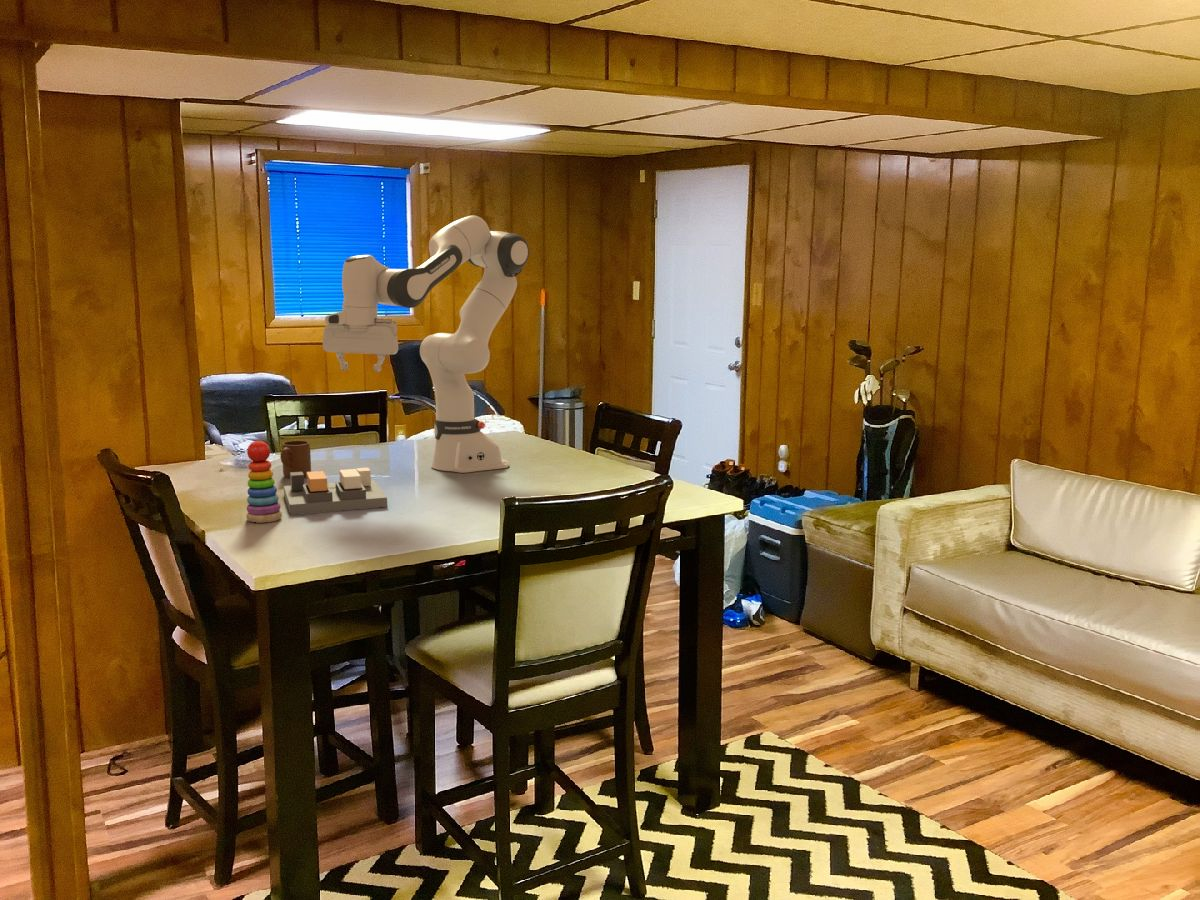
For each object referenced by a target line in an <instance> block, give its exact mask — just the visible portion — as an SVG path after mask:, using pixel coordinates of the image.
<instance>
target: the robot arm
mask: <svg viewBox="0 0 1200 900" xmlns="http://www.w3.org/2000/svg"><path fill="white" fill-rule="evenodd" d="M529 248H530V246H529V243H528V240H526V239H525V238H524V237H523V236H521V235H519V234H517V233H514V232H506V231H500V230H491V229H490V228H489V225H488V224H487V222H486V221H485V220H484V219H483V217H480V216H478V215H474V214H473V215H468V216H464V217H462V218H460V219H457V220H454V221H452V222H451V223H449V224H447V225H445V226H444V227H443V228H441V229H439V230H438V231H436V233H435V234H433V236H432V237H431V238H429V243H428V251H429V255H430V258H429V259H428V260H426V261H425V262H424V263H422V264H421V265H420V266H417V267H413V268H390V267H388V266H386V265H384V264H382V263H380V262H379V260H376V258H375V257H374V256H373V255H371V254H362V255H361V254H360V255H353V256H352V255H351V256H349V257H347V258H346V259H345V260H344V263H343V267H342V275H341V278H342V279H341V288H342V290H341V291H342V292H343V302H342V311H338V312H336V313H332V314H329V315H326V316H325V317H324V322H325V324H326V325H325V326H324V328H323V332H322V348H323V350H324V352H326V353H335V357H336V359H337V360H338V362H339V365H340V370H341V371H348V370H349V369H350V368H349V362H346V360H345V358H344V357H345V355H346V354H366V355H367V354H368V355H376V359H378V360H377V362H376V364H375V363H374V364H373V371H374V372H382V365H383V363H384V362H385V360H386V356H390V355H391V356H392V355H396V354H397V353H398V351H399V341H398V335H397V334H398V323H397V322H396V321H394V320H393V319H392V318H387V319H385V318H378V305H379V304H380V305H386V306H395V307H402V308H406V309H413V308H416V307H419V305H421V304H422V303H423V301H424V300H425V299H426V298H427V296H428V294H429V293H430V291H431V290H432V289H433V288H434V287H435V286H437V285H438V284H440V283H441V282H442V281H443V280H444V279H446V277H448V276H449V275H450V274H452V273H453V272H454V271H455V270H456V269H458V267H460V266H461V265H462V264H465V262H467V263H469V264H471V265H472V266H474V267H476V268H484V270H483V274H482V278H481V280H479V282H478V283H477V285H475V287H474V288H473V290H472V291H471V293H470V294H469V296H468V297H467V299H466V300H465V302H464V303H463V305H462V306H461V308H460V309H459V318H460V322H459V326H458V328H457V330H456V331H454V333H451V332H448V333H447V332H437V333H433V334H430V335H427V336H426V337H425V338H424V339H423V340H422V342H421V343H420V347H419V356H420V358H421V361H422V362H423V363H424V364H425V366H426V368H427V369H428V371H429V374H430V378H431V381H432V385H433V389H434V396H435V417H436V418H435V419H434V427H433V428H434V431H433V432H434V439H435V444H434V445H435V447H434V448H435V449H434V455H433V460H432V463H431V468H432V469H435V470H438V471H445V472H455V473H460V474H462V473H472V472H483V471H492V470H500V469H506V468H508V467H509V466H510V464H509V461H508V460H507V459H505V458H503V457H502V455H501V454H502V453H501V449H500V446H499V445H498V443H497V442H495V441H494V440H493V439H492V438H490V437H489V436H488V435H486V434H485V433H483V431H482V430H483V429H485V428H486V423H485V422H484V421H482V420H478V419H477V418H475V395H474V390H473V388H471V386H470V385H469V384H468V381H467V378H466V376H465V375H469V374H475V373H480V372H482V371H483V370H485V369H486V367H487V366H488V365H489V362H490V358H491V351H490V348H489V342H490V338H491V335H492V333H493V330H494V329H495V327H496V326H497V324H498V323H499V321H500V320H501V318H502V317H503V315H504V313H505V311H506V310H507V309H508V307H509V305H510V303H511V301H512V299H513V297H514V295H515V293H516V290H517V287H518V281H517V278H516V277H517V276H518V275H519V274H521V273H522V271H523V268H524V267H525V265H526V264H527V262H528V259H529V255H530V249H529Z"/></svg>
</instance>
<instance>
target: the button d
mask: <svg viewBox="0 0 1200 900" xmlns="http://www.w3.org/2000/svg"><path fill="white" fill-rule="evenodd" d="M339 482H341V484H342V486H343V488H344V489H355V488H361V476H360V474H359V473H358V471H357V470H356V468H350V469H346V468H345V469H339Z"/></svg>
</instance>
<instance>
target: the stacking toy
mask: <svg viewBox="0 0 1200 900" xmlns="http://www.w3.org/2000/svg"><path fill="white" fill-rule="evenodd" d="M246 453H247V456H248V458H249V460H251V461H250V462H249V464H248V469H249V470H250V471H249V472H248V474H247V477H248V480H247V487H249V488H248V489H247V494H248V496H247V497H246V501H247V506H246V511H247V513H246V515H245V516H246V520H247V521H248V522H251V523H254V522H256V524H265V522H267V523H272V522H276V521H278V520H281V518H282V516H283V512H282V510H280V509H281V503H280V502H279V498H280V497H279V494H277V492H278V489H277V487H276V486H275V482H276V481H275V479H274V477H273V476H274V472H273V470H272V469H271V468H272V462H271V461H269V460H268V458H269V457H270V456H271V455H270V454H271V448H270V446H269V445H268V443H266V442H265V441H262V440H255V441H253V442H251V443H250V444H249V445H248V447H247V450H246Z"/></svg>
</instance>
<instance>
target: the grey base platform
mask: <svg viewBox="0 0 1200 900" xmlns="http://www.w3.org/2000/svg"><path fill="white" fill-rule="evenodd" d="M283 495H284V500H285V503H286V505H287V510H288V512H289V515H290V516H293V515H305V514H307V515H308V514H319V513H331V512H333V511H334V512H343V511H342V510H347V511H355V510H354V509H360V510H368V509H367V508H373V509H379V508H378V507H386V508H388V497H387V496H386V495H385V493H384V491H383V490H382V488H381V487H380V486H379V484H378V483H377V482H376V481H375V479H371V486H363V485H362V483H361V488H355V489H344V488H343V486H342V484H341V482H340V481H336V482H327V490H326V491H312V492H310V489H309V487H308V485H307V483H306V484H305V483H304V484H303V491H292V490H291V485H283Z"/></svg>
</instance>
